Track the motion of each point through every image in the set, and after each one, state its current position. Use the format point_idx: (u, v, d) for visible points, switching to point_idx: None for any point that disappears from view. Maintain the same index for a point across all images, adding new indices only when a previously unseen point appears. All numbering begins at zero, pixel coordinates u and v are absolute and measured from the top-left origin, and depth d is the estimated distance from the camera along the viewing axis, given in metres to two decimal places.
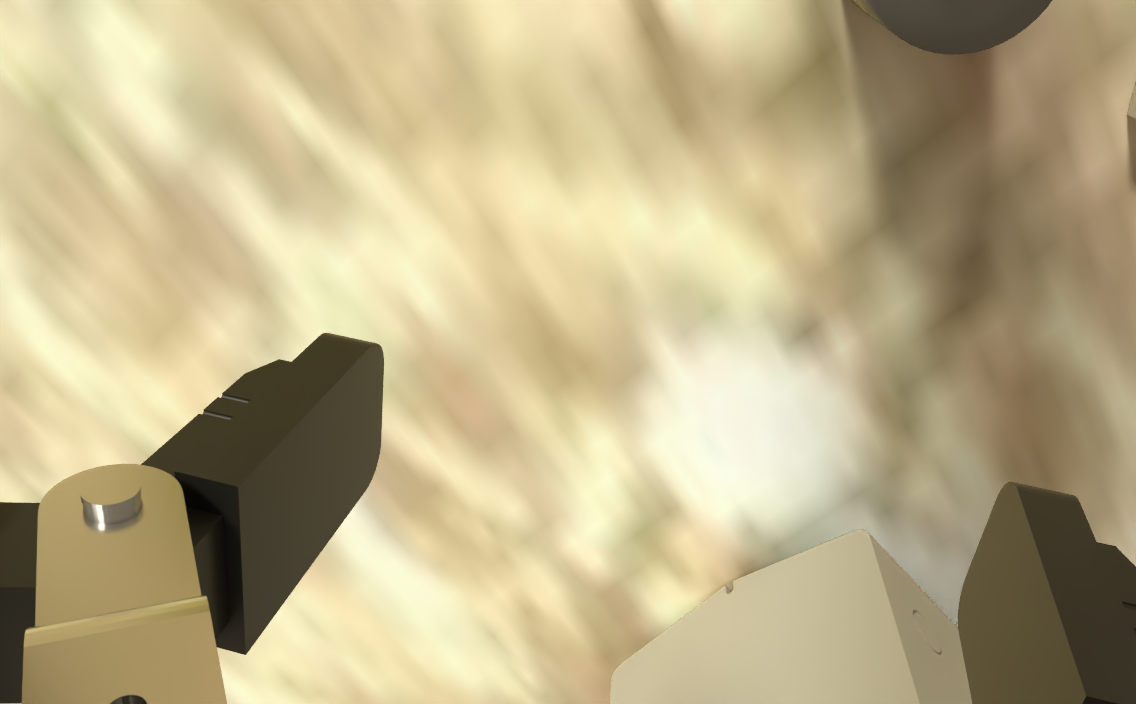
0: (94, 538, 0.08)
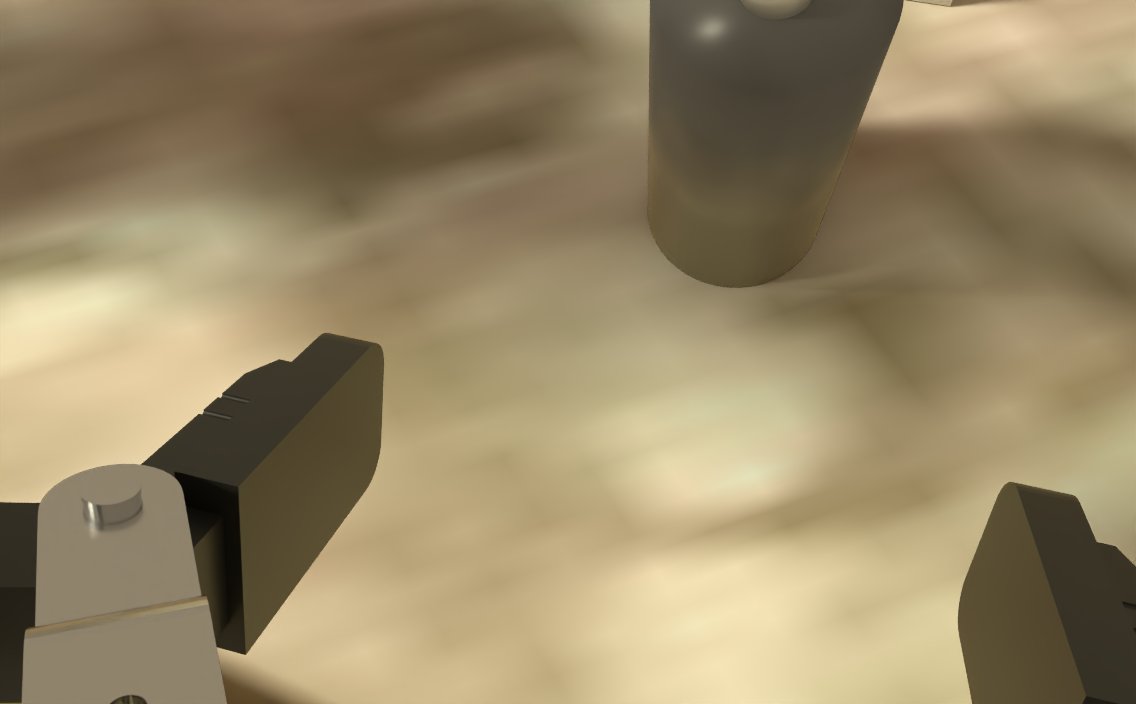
0: (94, 538, 0.08)
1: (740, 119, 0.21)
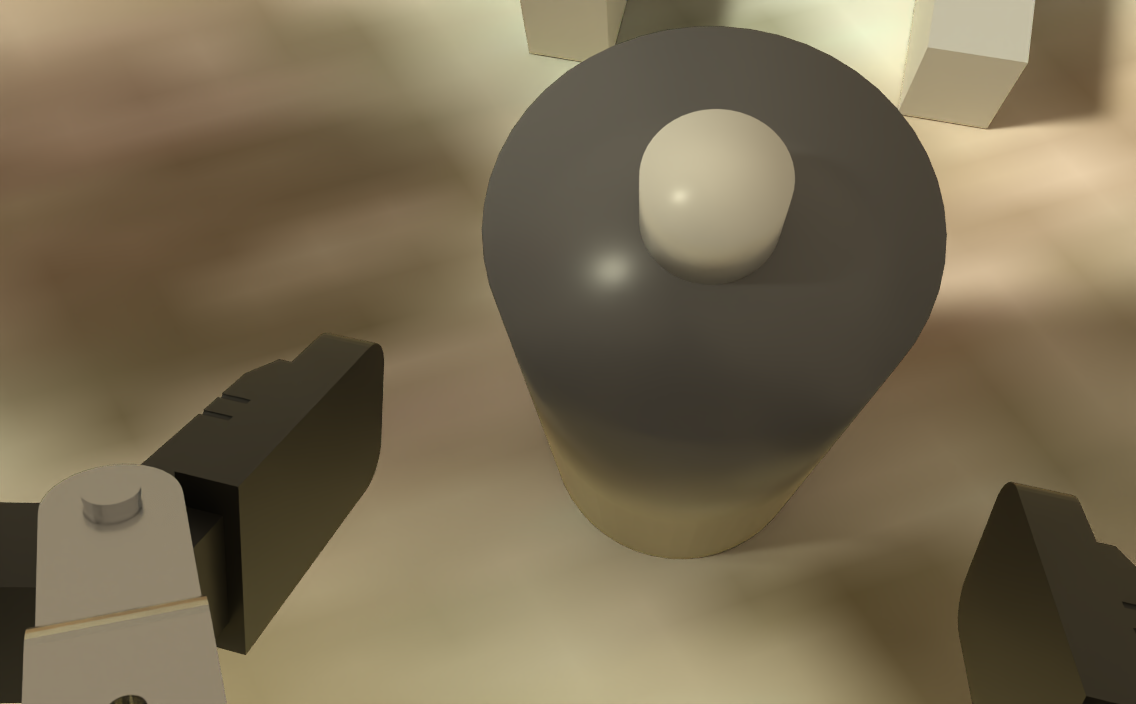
0: (94, 538, 0.08)
1: (647, 455, 0.11)
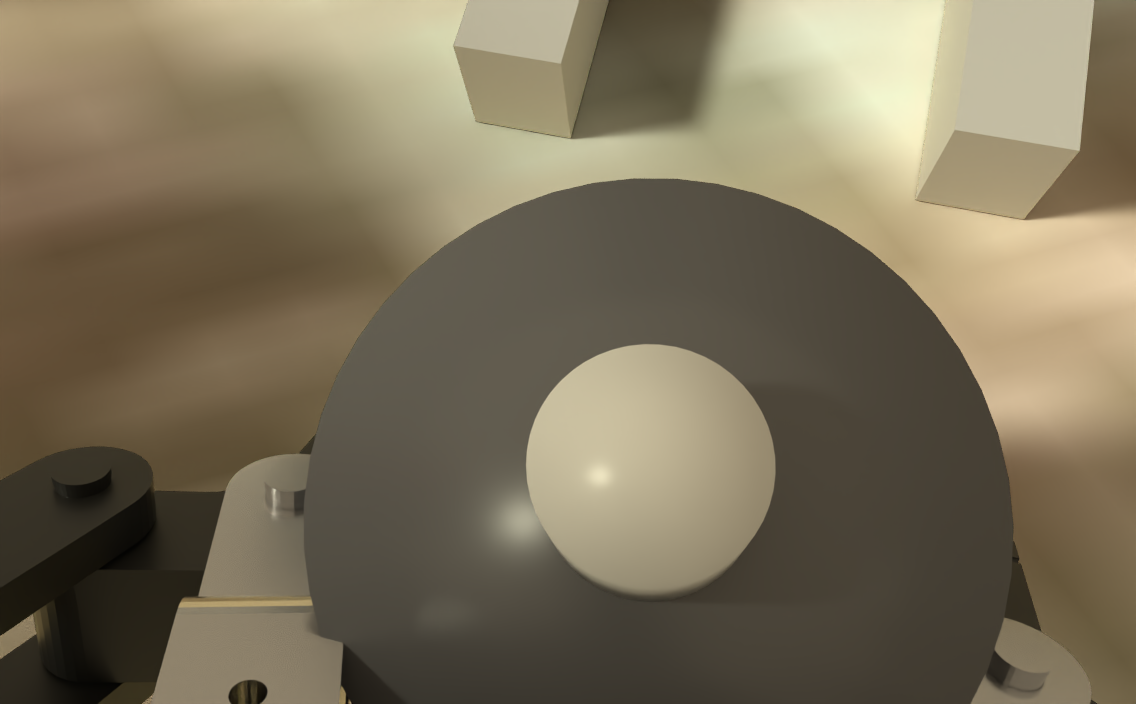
0: (284, 524, 0.09)
1: None
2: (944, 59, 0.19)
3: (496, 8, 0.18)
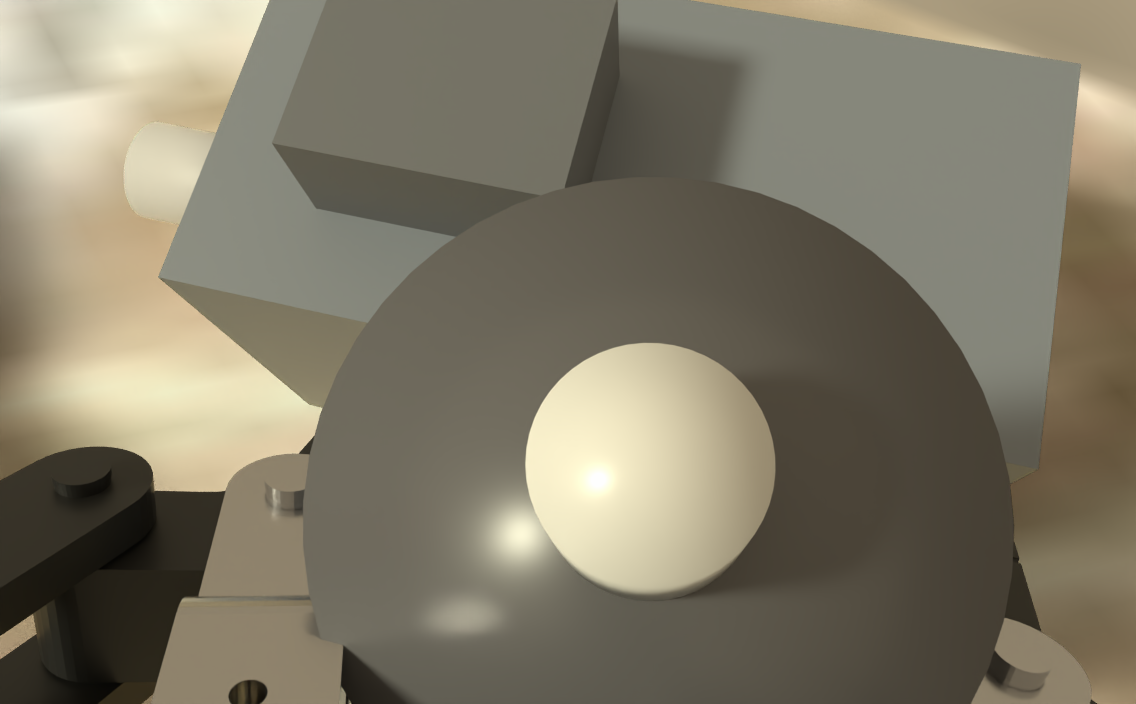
0: (284, 524, 0.09)
1: None
2: None
3: None
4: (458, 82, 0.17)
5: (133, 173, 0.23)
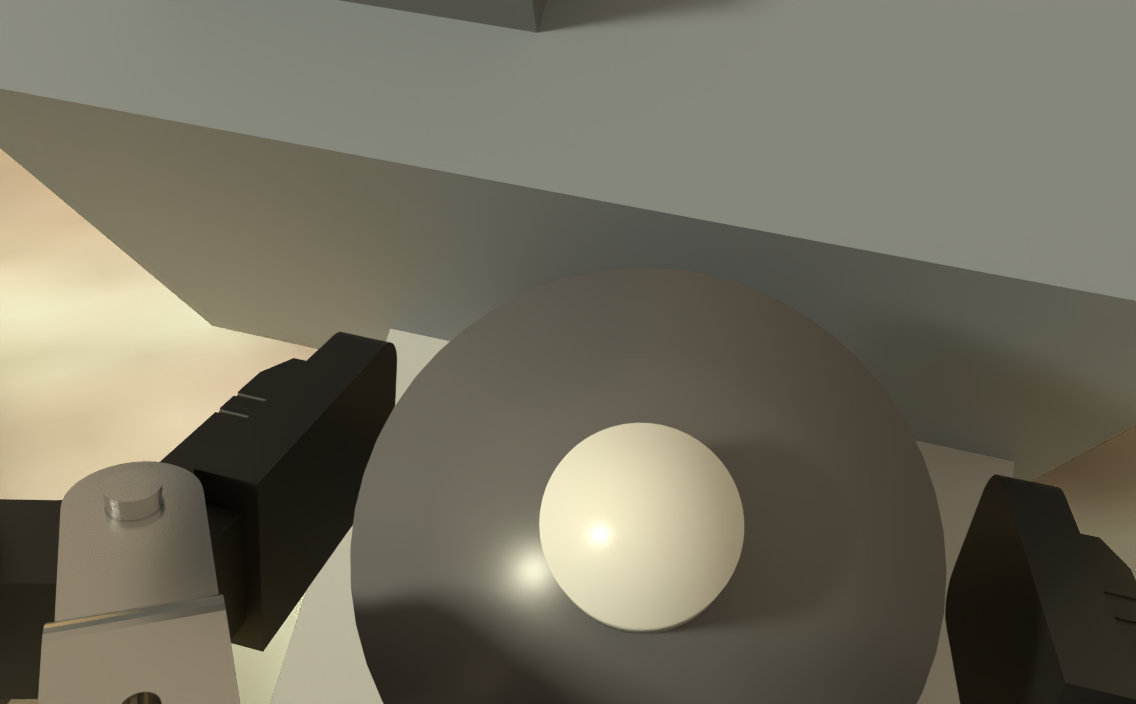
0: (117, 535, 0.09)
1: None
2: None
3: (311, 685, 0.16)
4: None
5: None
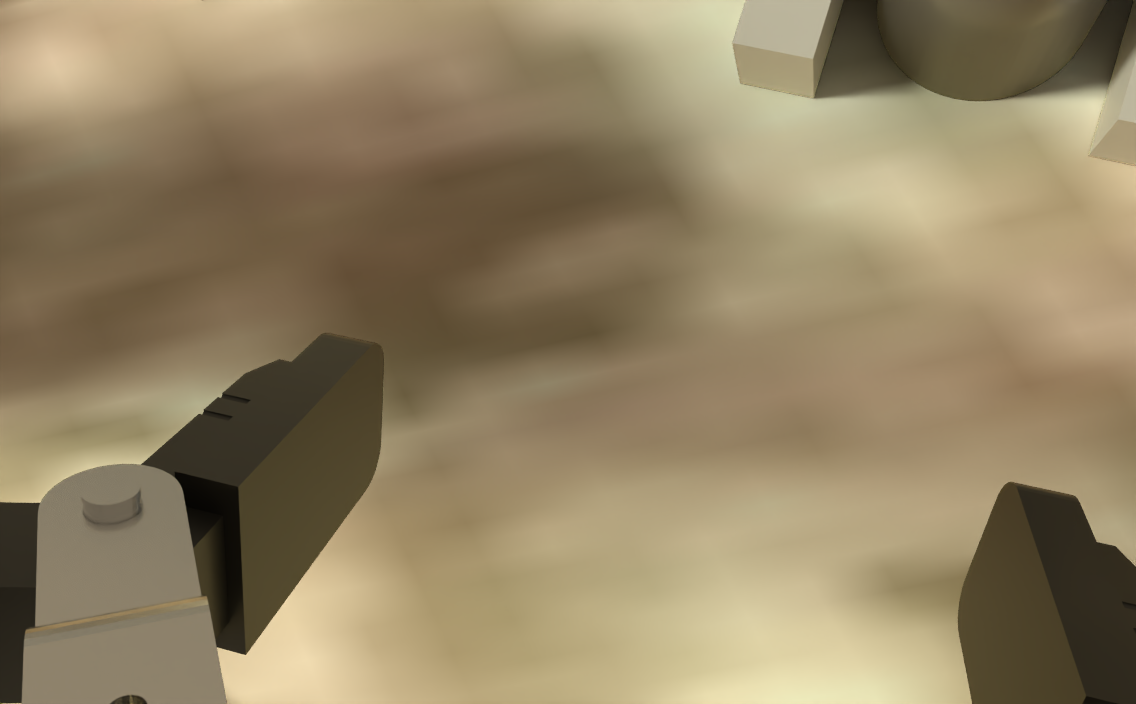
0: (94, 539, 0.08)
1: None
2: (1127, 40, 0.23)
3: (765, 12, 0.24)
4: None
5: None
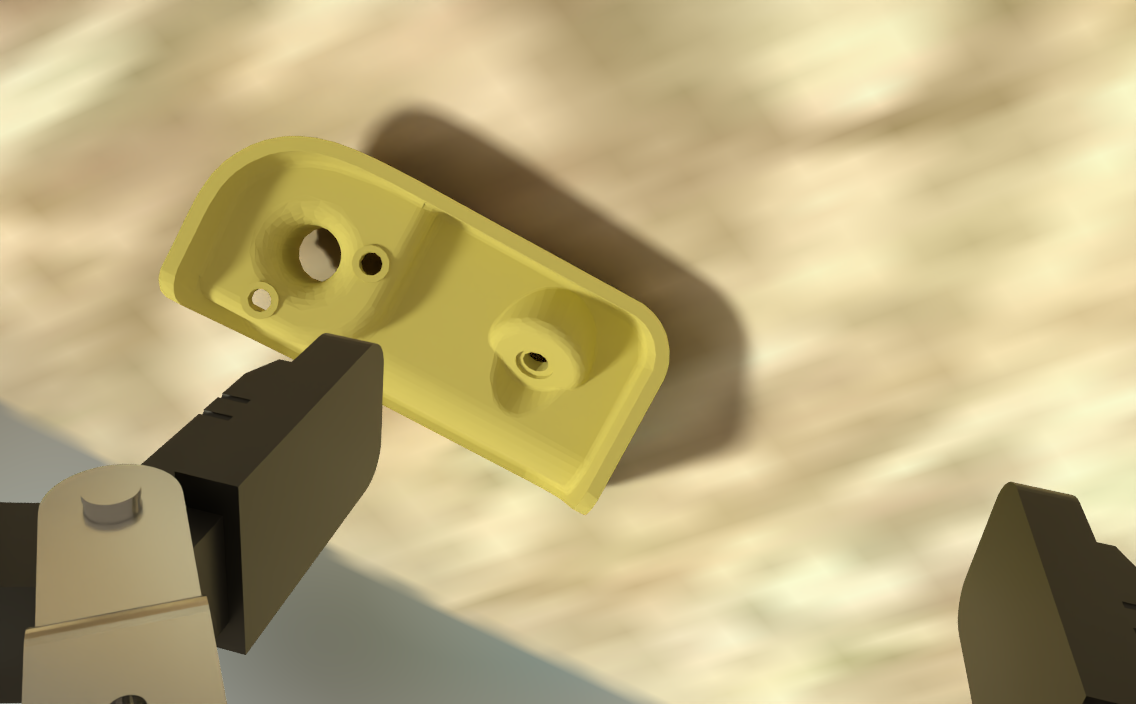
0: (94, 538, 0.08)
1: None
2: None
3: None
4: None
5: None
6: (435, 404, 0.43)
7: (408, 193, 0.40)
